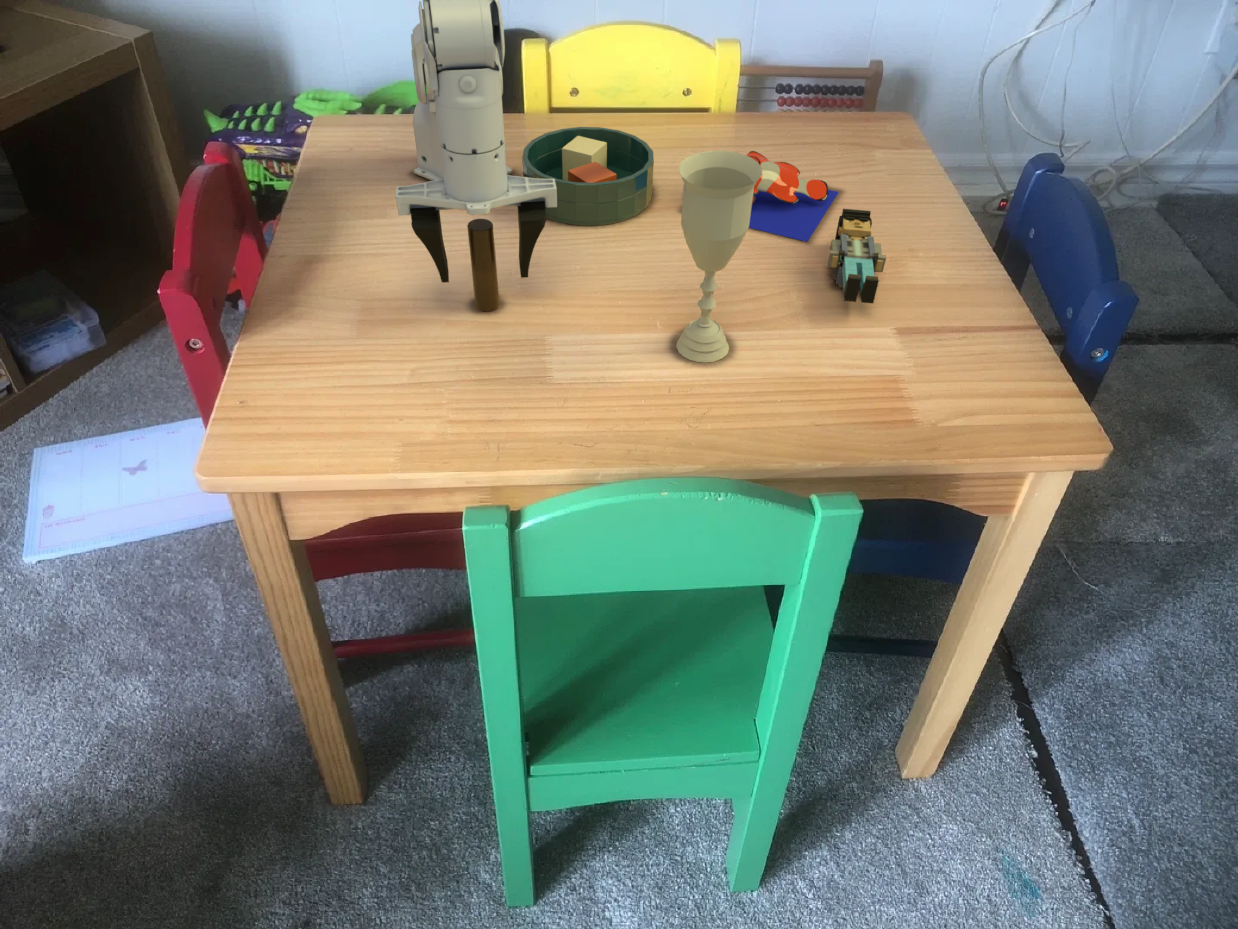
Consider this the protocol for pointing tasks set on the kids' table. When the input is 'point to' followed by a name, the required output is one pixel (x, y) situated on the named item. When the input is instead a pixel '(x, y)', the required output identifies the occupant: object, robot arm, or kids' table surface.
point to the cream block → (583, 154)
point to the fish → (787, 200)
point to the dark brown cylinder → (483, 264)
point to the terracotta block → (591, 174)
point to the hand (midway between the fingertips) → (484, 274)
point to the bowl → (594, 199)
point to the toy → (856, 256)
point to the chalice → (714, 234)
